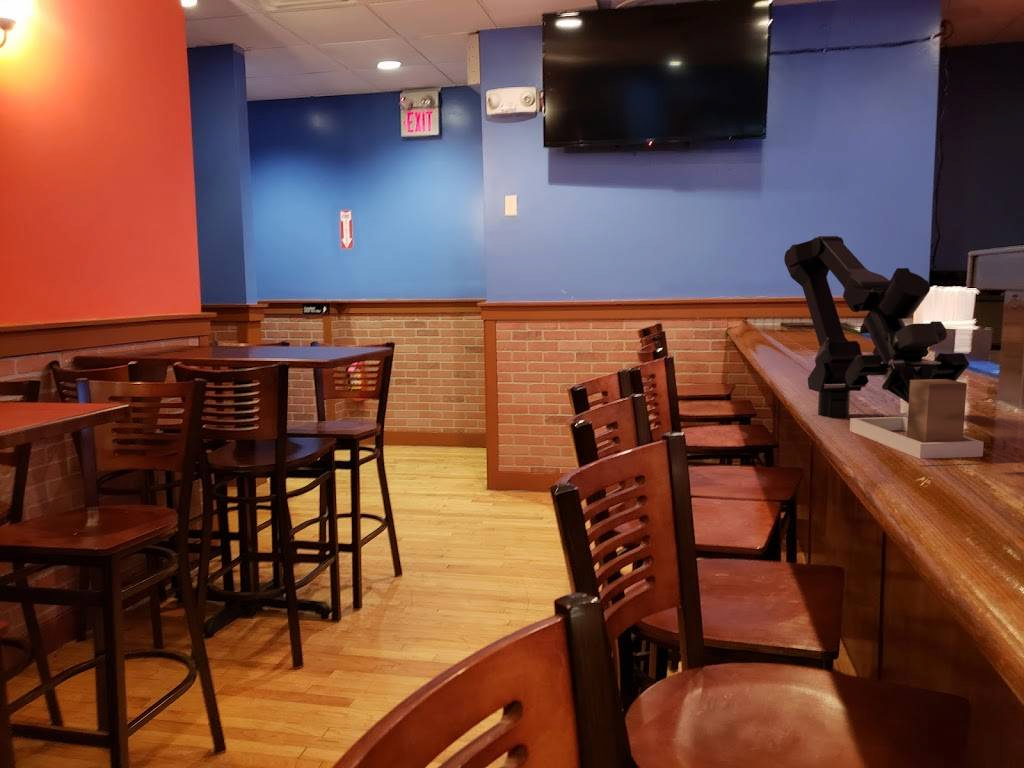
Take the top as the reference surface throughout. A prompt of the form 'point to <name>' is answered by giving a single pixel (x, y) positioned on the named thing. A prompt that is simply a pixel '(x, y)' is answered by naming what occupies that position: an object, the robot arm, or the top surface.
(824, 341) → the robot arm
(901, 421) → the box
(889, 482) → the top surface
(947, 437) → the walnut block
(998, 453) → the top surface
